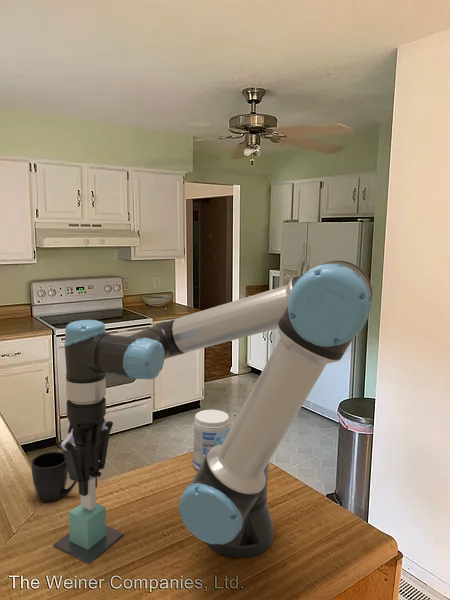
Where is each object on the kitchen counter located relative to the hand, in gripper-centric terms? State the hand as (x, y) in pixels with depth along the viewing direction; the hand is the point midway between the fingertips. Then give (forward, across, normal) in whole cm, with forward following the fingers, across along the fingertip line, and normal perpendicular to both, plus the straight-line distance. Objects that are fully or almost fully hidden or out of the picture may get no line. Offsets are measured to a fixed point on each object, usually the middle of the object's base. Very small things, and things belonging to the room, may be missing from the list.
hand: (88, 506), depth 97 cm
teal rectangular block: (+7, 0, 0) cm, 7 cm away
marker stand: (+8, 0, 0) cm, 8 cm away
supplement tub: (+8, -40, +6) cm, 41 cm away
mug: (+8, -8, -18) cm, 21 cm away
